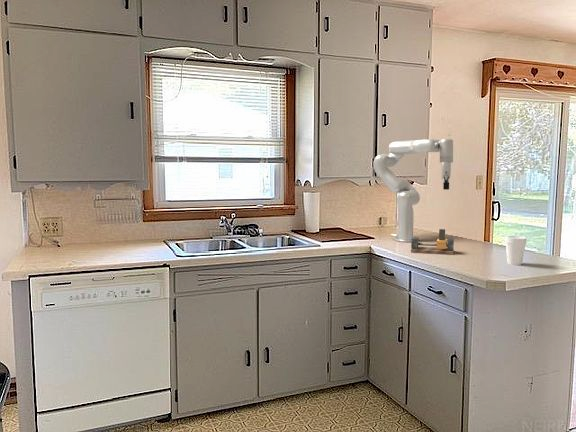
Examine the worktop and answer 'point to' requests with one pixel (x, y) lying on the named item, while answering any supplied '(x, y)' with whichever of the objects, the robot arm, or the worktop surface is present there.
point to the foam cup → (515, 249)
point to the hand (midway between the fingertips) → (446, 189)
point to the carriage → (441, 240)
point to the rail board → (431, 250)
